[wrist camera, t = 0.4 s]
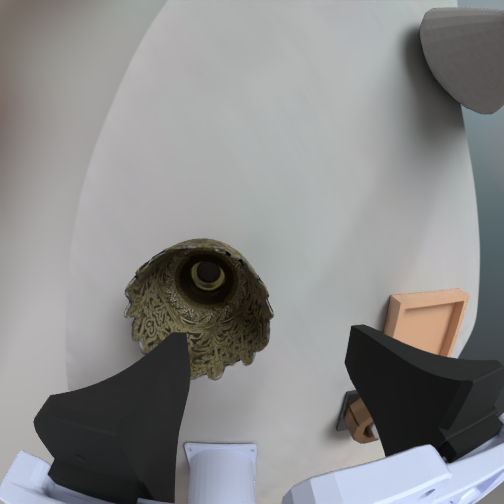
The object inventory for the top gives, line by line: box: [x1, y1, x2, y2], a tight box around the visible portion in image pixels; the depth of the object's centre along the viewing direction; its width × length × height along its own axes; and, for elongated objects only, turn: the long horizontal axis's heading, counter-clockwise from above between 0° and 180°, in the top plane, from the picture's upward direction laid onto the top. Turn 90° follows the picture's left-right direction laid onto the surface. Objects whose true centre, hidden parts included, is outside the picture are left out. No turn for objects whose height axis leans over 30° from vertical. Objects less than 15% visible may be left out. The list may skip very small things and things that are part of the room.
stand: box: [336, 390, 380, 439], centre depth 23 cm, size 6×6×5 cm
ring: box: [345, 398, 378, 444], centre depth 24 cm, size 5×5×3 cm
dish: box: [383, 289, 469, 357], centre depth 23 cm, size 9×9×2 cm
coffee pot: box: [420, 8, 504, 114], centre depth 11 cm, size 21×12×15 cm, turn 158°
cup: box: [124, 239, 274, 380], centre depth 17 cm, size 8×7×8 cm
